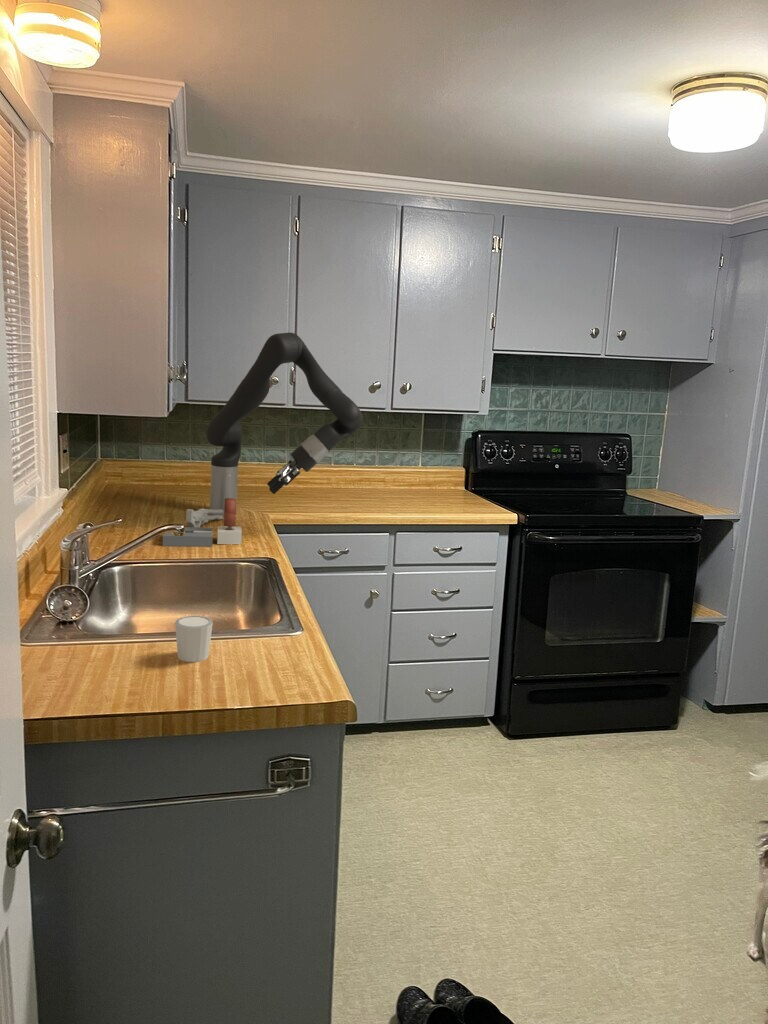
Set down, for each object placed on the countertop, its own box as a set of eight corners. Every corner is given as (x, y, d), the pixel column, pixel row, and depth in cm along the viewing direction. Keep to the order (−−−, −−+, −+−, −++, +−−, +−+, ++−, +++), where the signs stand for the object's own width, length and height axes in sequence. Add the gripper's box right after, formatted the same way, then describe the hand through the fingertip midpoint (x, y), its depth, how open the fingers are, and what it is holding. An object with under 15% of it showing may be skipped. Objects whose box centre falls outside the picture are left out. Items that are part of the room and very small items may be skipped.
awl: (223, 540, 234) (224, 498, 231) (234, 540, 235) (236, 498, 232) (223, 543, 231) (224, 500, 228) (235, 543, 231) (236, 500, 229)
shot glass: (182, 666, 141) (183, 629, 140) (168, 653, 146) (169, 618, 145) (217, 659, 145) (218, 624, 144) (203, 647, 150) (204, 613, 149)
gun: (184, 533, 234) (186, 508, 234) (217, 530, 264) (219, 507, 263) (190, 534, 234) (192, 509, 233) (222, 531, 263) (224, 508, 263)
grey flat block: (164, 536, 234) (165, 526, 233) (212, 537, 237) (212, 527, 237) (162, 546, 223) (162, 535, 222) (212, 546, 226) (212, 536, 225)
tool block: (217, 539, 235) (217, 526, 234) (240, 539, 237) (240, 526, 236) (217, 544, 228) (217, 531, 228) (241, 545, 230) (241, 532, 229)
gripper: (298, 441, 238) (260, 476, 238) (304, 446, 224) (263, 484, 224) (315, 458, 240) (276, 493, 240) (321, 465, 227) (280, 502, 226)
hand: (270, 489), depth 232 cm, fingers open, 8 cm apart
